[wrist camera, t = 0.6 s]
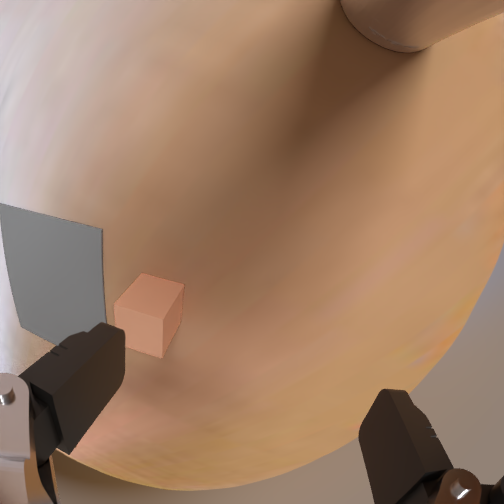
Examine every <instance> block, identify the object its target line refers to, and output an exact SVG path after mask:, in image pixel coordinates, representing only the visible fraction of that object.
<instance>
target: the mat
mask: <svg viewBox="0 0 504 504" xmlns="http://www.w3.org/2000/svg"><path fill="white" fill-rule="evenodd" d="M0 221H1V231H2V239H3V247H4V253H5V260H6V265H7V271H8V276H9V281H10V286H11V290H12V295H13V299H14V303H15V307H16V311H17V314H18V318H19V322H20V325H21V327H22V328H24V329H26V330H28V331H30V332H32V333H33V334H35V335H37V336H39V337H41V338H43V339H45V340H47V341H49V342H51V343H53V344H55V345H57V346H58V345H59V343H60V342H62V341H63V340H64V339H66V338H67V337H68V336H70V335H73V334H76V333H79V332H82V331H85V332H89V331H90V330H91V329H92V328H94V327H95V326H96V325H97V324H99V323H100V322H104V323H106V324H107V321H106V310H105V298H104V281H103V251H102V229H100V228H96V227H92V226H88V225H84V224H80V223H76V222H72V221H68V220H64V219H60V218H56V217H52V216H48V215H44V214H40V213H36V212H32V211H28V210H25V209H21V208H17V207H13V206H9V205H5V204H1V203H0Z"/></svg>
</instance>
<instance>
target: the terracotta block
mask: <svg viewBox="0 0 504 504" xmlns="http://www.w3.org/2000/svg"><path fill="white" fill-rule="evenodd" d="M184 286H185V284H182V283H178V282H174V281H170V280H166V279H162V278H159V277H155V276H151V275H148V274H144V273H141V274H140V275H139V276H138V278H137V279H136V280H135V281H134V282H133V283H132V284H131V285H130V286H129V287H128V288H127V290H126V291H125V292H124V293H123V294H122V295H121V296H120V297H119V299H118V300H117V301H116V302H115V303H114V316H115V327H117V328H120V329H123V330H124V331H125V336H126V339H125V347H128V348H131V349H134V350H136V351H139V352H142V353H146V354H149V355H152V356H155V357H158V358H161V359H162V358H163V356H164V354H165V352H166V350H167V348H168V346H169V344H170V342H171V340H172V338H173V336H174V334H175V332H176V330H177V328H178V326H179V325H180V323H181V317H182V306H183V295H184Z"/></svg>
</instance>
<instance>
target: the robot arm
mask: <svg viewBox="0 0 504 504" xmlns="http://www.w3.org/2000/svg"><path fill="white" fill-rule="evenodd" d="M340 2H341V5H342V8H343V11H344V13H345V14H346V16H347V18H348V19H349V21H350V22H351V23H352V24H353V26H354V27H355V28H356V29H357V30H358V31H359V32H360V33H362V34H363V35H364V36H365V37H366V38H368V39H369V40H371V41H372V42H374V43H376V44H378V45H380V46H382V47H384V48H386V49H390V50H393V51H397V52H405V53H409V52H417V51H420V50H423V49H425V48H427V47H429V46H431V45H433V44H435V43H437V42H439V41H441V40H443V39H445V38H447V37H449V36H451V35H454V34H456V33H458V32H460V31H462V30H464V29H466V28H468V27H471V26H473V25H475V24H477V23H480V22H482V21H484V20H487V19H489V18H491V17H494V16H496V15H499V14H501V13H504V0H340ZM125 339H126V336H125V331H124V330H123V329H120V328H117V327H114V326H112V325H109V324H106V323H104V322H100V323H99V324H97V325H96V326H95V327H94V328H92V329H91V330H90V331H89V332H85V331H82V332H79V333H76V334H73V335H70V336H68V337H67V338H66V339H64V340H63V341H62V342H60V343H59V345H58V346H55V347H54V348H53V349H52V350H50V353H49V352H48V353H46V354H45V355H44V356H43V357H41V358H40V359H39V360H38V361H36V362H35V363H34V364H33V365H31V366H30V367H29V368H28V369H26V370H25V371H24V372H23V373H21V374H20V375H19V376H16V375H13V374H9V373H0V504H61V503H60V498H59V494H58V489H57V484H56V479H55V473H54V467H53V462H52V456H51V454H52V453H53V452H54V450H55V449H56V448H58V449H60V450H61V451H63V452H65V453H67V454H68V455H70V453H71V452H72V451H73V449H74V448H75V446H76V445H77V444H78V442H79V441H80V440H81V438H82V437H83V436H84V434H85V433H86V432H87V430H88V429H89V427H90V426H91V425H92V423H93V422H94V421H95V419H96V418H97V417H98V415H99V414H100V413H101V411H102V410H103V409H104V407H105V406H106V405H107V403H108V402H109V401H110V399H111V398H112V397H113V395H114V394H115V393H116V391H117V390H118V389H119V387H120V386H121V384H122V381H123V378H124V374H125ZM431 427H432V426H431V424H430V422H429V420H428V419H427V417H426V415H425V414H423V412H422V411H421V410H419V409H418V408H417V407H416V406H414V404H413V402H412V400H411V399H410V397H409V395H408V393H407V392H406V391H405V390H393V389H383V390H381V391H380V392H379V394H378V396H377V397H376V399H375V401H374V403H373V405H372V406H371V408H370V410H369V412H368V413H367V415H366V417H365V419H364V420H363V422H362V424H361V426H360V430H359V443H360V446H361V450H362V454H363V458H364V462H365V466H366V469H367V474H368V478H369V482H370V486H371V490H372V494H373V499H374V503H375V504H504V476H503V477H502V478H501V479H500V480H499V481H498V482H497V483H496V484H495V485H484V484H480V482H479V480H478V478H477V477H476V476H475V475H474V474H473V473H471V472H470V471H467V470H465V469H460V468H455V469H454V468H453V465H452V464H451V462H450V460H449V458H448V456H447V454H446V452H445V450H444V448H443V446H442V444H441V442H440V441H439V439H438V438H436V433H435V431H434V429H431Z"/></svg>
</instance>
